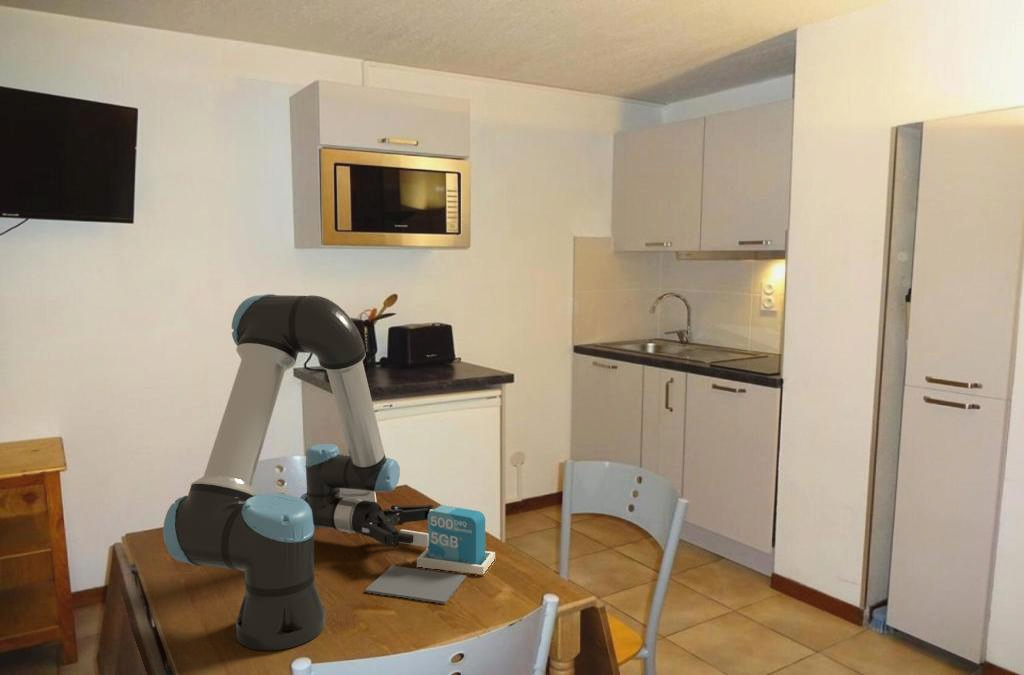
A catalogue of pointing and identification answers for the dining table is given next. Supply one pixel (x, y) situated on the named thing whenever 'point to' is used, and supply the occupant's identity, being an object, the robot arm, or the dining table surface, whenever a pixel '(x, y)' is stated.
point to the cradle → (455, 563)
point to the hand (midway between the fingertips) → (442, 529)
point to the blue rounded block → (456, 535)
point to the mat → (416, 584)
